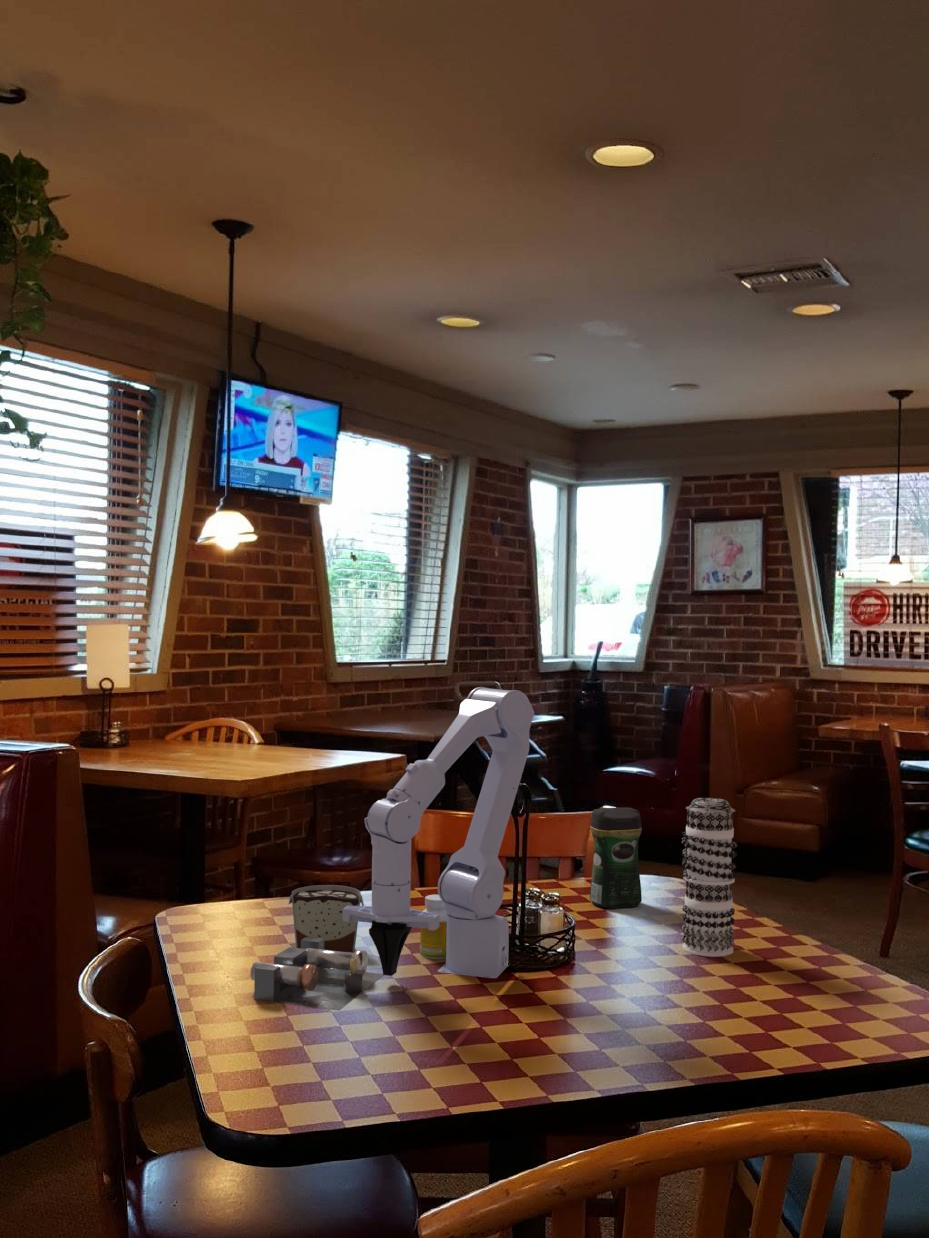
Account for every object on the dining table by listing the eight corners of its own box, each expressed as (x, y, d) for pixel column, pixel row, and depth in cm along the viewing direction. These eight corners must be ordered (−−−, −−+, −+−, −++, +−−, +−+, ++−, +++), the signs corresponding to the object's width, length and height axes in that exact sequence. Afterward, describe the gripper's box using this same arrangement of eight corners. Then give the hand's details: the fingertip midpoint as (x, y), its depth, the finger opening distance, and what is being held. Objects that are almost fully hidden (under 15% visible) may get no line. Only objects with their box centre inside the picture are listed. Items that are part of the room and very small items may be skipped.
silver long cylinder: (367, 971, 175) (368, 947, 175) (358, 978, 171) (358, 954, 171) (311, 965, 178) (312, 941, 178) (301, 972, 174) (302, 948, 174)
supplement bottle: (449, 963, 184) (450, 902, 184) (416, 960, 186) (417, 899, 185) (456, 953, 190) (457, 894, 190) (424, 951, 191) (425, 892, 191)
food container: (369, 945, 194) (370, 885, 193) (362, 956, 187) (363, 894, 187) (296, 942, 195) (297, 882, 195) (287, 953, 189) (288, 891, 189)
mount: (384, 978, 176) (384, 945, 176) (339, 1014, 160) (339, 977, 160) (305, 968, 180) (306, 936, 180) (254, 1003, 164) (254, 968, 164)
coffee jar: (629, 897, 229) (630, 803, 229) (646, 907, 222) (648, 810, 222) (583, 900, 227) (585, 805, 227) (599, 910, 219) (601, 812, 219)
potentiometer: (364, 988, 170) (365, 958, 170) (358, 993, 167) (358, 963, 167) (348, 986, 170) (348, 956, 170) (341, 991, 168) (341, 961, 168)
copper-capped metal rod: (318, 986, 167) (318, 961, 167) (307, 994, 164) (307, 968, 164) (260, 979, 170) (260, 955, 170) (248, 987, 167) (249, 962, 167)
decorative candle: (668, 948, 195) (670, 798, 195) (702, 938, 201) (704, 793, 201) (713, 960, 188) (715, 806, 188) (746, 950, 194) (749, 800, 194)
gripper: (335, 883, 170) (333, 976, 170) (429, 891, 166) (427, 986, 166) (353, 873, 177) (352, 962, 177) (444, 881, 173) (443, 972, 173)
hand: (389, 973), depth 172 cm, fingers closed
